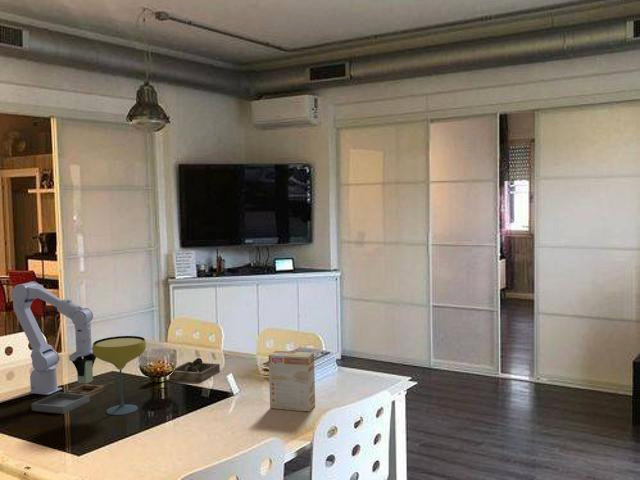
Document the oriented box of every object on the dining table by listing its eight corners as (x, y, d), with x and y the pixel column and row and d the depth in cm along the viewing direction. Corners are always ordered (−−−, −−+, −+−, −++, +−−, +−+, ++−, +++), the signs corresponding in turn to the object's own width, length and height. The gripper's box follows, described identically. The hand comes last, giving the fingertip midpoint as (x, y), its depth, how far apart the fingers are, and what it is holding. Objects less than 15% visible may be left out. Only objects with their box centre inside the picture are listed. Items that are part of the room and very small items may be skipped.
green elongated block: (77, 382, 246) (76, 362, 246) (84, 379, 250) (83, 360, 250) (86, 383, 245) (85, 363, 245) (93, 380, 249) (92, 360, 248)
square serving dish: (169, 379, 264) (169, 371, 263) (188, 369, 278) (188, 361, 278) (202, 382, 259) (201, 373, 258) (219, 371, 273) (219, 364, 273)
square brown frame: (65, 395, 245) (65, 391, 245) (83, 387, 254) (83, 383, 254) (88, 397, 241) (87, 393, 241) (105, 389, 251) (105, 385, 251)
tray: (31, 410, 228) (31, 403, 228) (59, 398, 241) (59, 392, 241) (63, 413, 223) (63, 407, 223) (89, 401, 236) (89, 395, 236)
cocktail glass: (99, 422, 214) (96, 349, 212) (92, 407, 230) (88, 339, 228) (153, 413, 222) (150, 343, 220) (142, 399, 238) (139, 333, 236)
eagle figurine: (205, 373, 267) (206, 364, 275) (195, 361, 265) (197, 352, 274) (190, 383, 267) (192, 374, 276) (180, 371, 265) (182, 362, 274)
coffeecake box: (315, 406, 226) (314, 352, 225) (309, 412, 219) (307, 357, 218) (277, 402, 231) (275, 349, 230) (269, 408, 224) (268, 354, 223)
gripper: (79, 344, 238) (80, 380, 239) (104, 336, 252) (105, 370, 253) (64, 343, 241) (65, 378, 242) (89, 335, 254) (90, 368, 255)
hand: (85, 374), depth 247 cm, fingers closed on green elongated block, 4 cm apart
